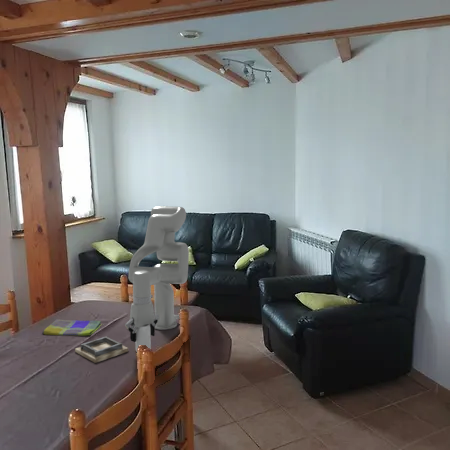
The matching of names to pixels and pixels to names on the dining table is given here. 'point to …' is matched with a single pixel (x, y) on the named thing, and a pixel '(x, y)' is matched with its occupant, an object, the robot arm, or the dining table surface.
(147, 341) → the can
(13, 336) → the dining table surface
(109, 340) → the square tray
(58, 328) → the dish towel
